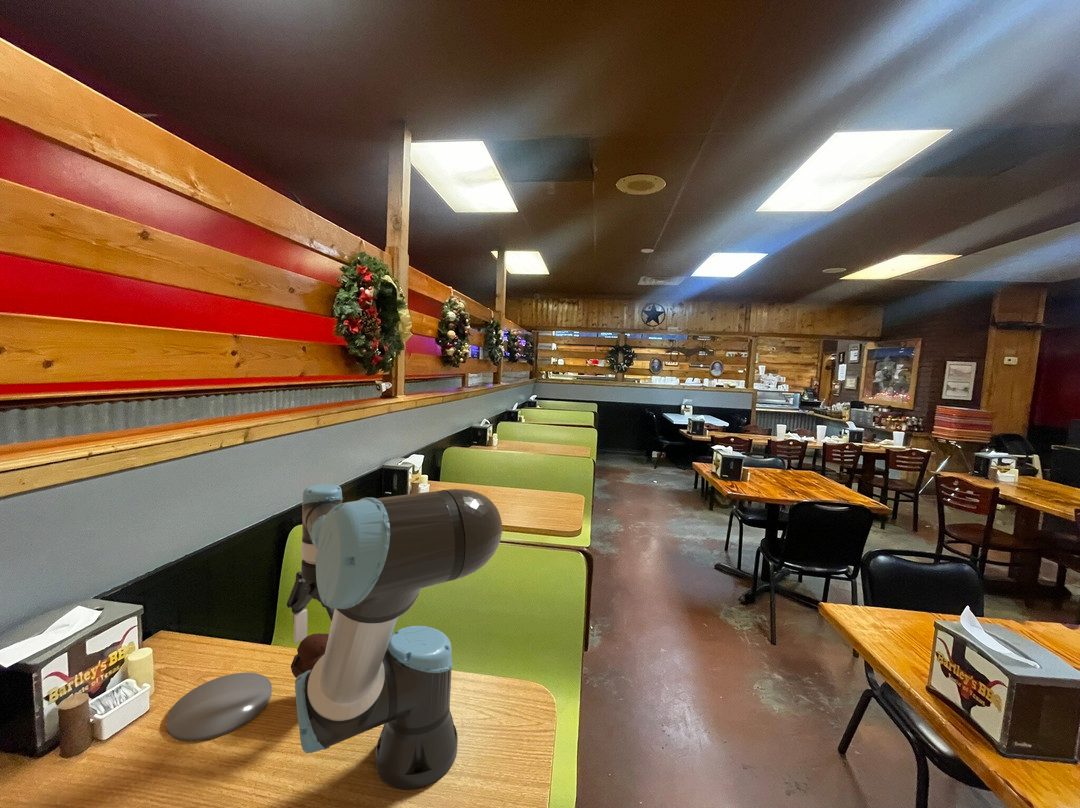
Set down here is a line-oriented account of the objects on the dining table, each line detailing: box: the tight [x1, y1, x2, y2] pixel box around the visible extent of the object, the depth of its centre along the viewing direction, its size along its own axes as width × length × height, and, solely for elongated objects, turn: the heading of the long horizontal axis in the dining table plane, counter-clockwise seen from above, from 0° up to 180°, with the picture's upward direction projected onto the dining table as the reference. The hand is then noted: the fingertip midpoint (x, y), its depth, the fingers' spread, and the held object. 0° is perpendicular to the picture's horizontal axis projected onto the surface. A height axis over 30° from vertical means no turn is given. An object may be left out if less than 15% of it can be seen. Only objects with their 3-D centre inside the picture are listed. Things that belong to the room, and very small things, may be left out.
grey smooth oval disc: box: [165, 672, 273, 742], centre depth 93 cm, size 18×18×1 cm
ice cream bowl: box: [290, 632, 329, 679], centre depth 96 cm, size 11×11×15 cm
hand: (319, 650), depth 96 cm, fingers open, 13 cm apart
